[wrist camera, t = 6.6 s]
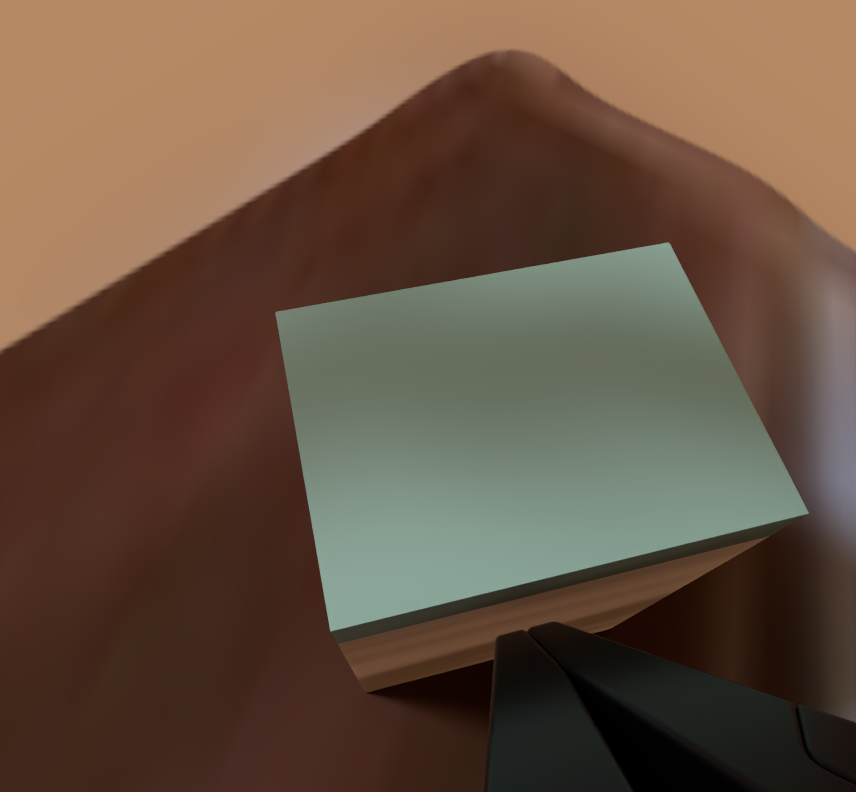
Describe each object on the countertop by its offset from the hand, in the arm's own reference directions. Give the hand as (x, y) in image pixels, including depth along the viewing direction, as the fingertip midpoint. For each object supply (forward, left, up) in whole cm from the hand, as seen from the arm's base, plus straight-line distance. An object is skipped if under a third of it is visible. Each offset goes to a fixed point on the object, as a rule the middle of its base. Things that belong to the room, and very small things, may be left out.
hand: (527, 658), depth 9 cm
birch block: (+3, +1, -8) cm, 8 cm away
